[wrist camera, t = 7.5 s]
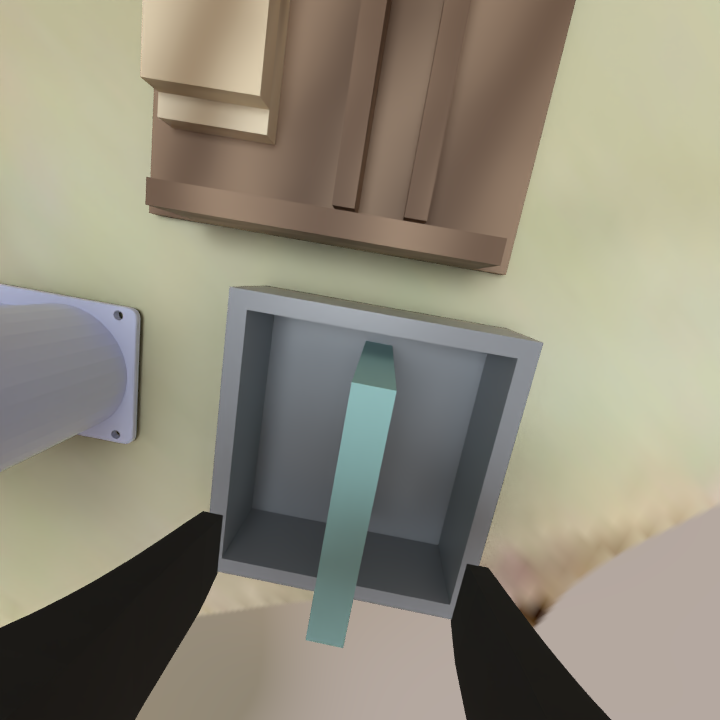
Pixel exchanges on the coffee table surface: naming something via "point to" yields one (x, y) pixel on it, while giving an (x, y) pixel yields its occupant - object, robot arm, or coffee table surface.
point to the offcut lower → (231, 116)
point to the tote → (324, 433)
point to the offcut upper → (211, 49)
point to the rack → (385, 132)
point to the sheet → (353, 493)
